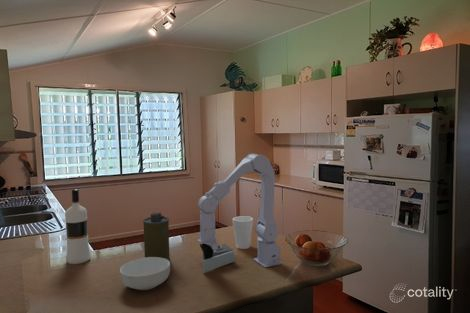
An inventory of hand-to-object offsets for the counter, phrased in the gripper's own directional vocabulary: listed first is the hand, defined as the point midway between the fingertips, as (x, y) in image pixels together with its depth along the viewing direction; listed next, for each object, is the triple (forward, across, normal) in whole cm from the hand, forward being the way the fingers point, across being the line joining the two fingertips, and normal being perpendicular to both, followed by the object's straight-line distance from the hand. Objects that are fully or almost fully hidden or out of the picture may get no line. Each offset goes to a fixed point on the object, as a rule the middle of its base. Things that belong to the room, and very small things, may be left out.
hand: (208, 262), depth 130 cm
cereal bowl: (+3, +2, -24) cm, 24 cm away
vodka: (+3, -34, -44) cm, 56 cm away
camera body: (+3, -6, +7) cm, 10 cm away
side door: (+2, 0, +4) cm, 5 cm away
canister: (+3, -18, -15) cm, 24 cm away
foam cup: (+3, -16, +24) cm, 29 cm away
